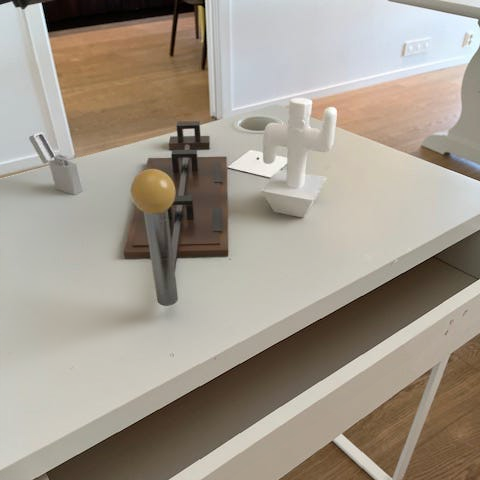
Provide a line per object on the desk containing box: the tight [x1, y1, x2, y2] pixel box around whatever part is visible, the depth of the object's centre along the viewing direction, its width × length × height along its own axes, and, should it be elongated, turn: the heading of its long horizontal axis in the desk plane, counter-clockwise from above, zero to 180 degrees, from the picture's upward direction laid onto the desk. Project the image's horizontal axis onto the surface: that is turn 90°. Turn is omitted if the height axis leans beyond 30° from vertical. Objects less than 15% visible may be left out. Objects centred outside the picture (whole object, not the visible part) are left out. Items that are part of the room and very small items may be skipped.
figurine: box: [261, 97, 338, 219], centre depth 68 cm, size 7×9×15 cm
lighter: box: [28, 131, 83, 196], centre depth 76 cm, size 7×2×8 cm, turn 59°
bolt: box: [130, 145, 190, 307], centre depth 64 cm, size 42×4×15 cm, turn 1°
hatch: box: [123, 149, 229, 259], centre depth 73 cm, size 28×13×4 cm, turn 1°
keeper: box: [168, 120, 211, 151], centre depth 89 cm, size 3×7×4 cm, turn 91°
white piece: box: [227, 149, 287, 179], centre depth 84 cm, size 8×8×1 cm
